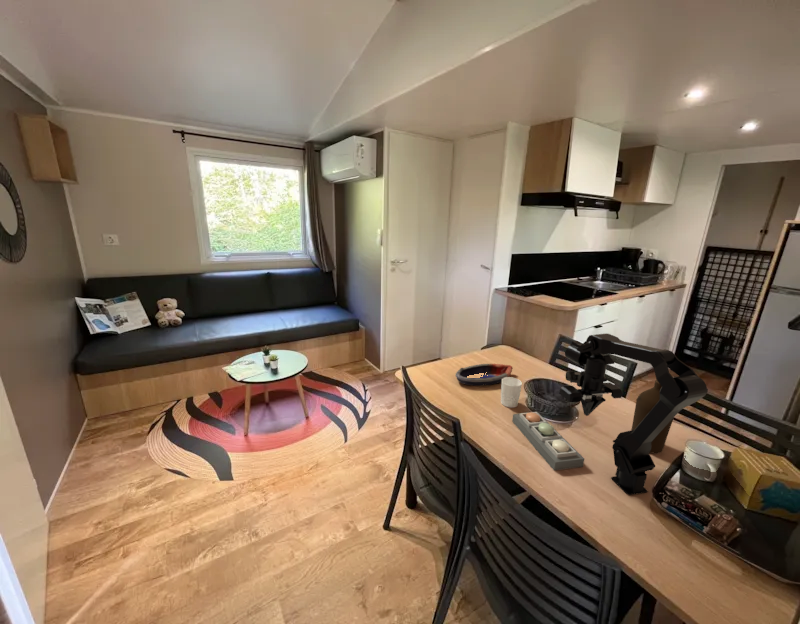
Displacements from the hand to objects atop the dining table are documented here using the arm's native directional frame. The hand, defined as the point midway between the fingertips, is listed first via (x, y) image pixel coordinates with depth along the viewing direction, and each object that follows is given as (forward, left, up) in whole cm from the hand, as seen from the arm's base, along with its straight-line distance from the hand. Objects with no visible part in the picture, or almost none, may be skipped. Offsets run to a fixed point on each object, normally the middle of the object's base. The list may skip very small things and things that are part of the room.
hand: (586, 415), depth 112 cm
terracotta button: (+12, +11, -9) cm, 18 cm away
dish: (+51, +12, -12) cm, 54 cm away
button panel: (+4, +11, -12) cm, 17 cm away
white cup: (+29, +11, -12) cm, 33 cm away
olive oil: (-3, -23, -12) cm, 26 cm away
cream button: (-4, +11, -9) cm, 15 cm away
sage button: (+4, +11, -8) cm, 14 cm away
